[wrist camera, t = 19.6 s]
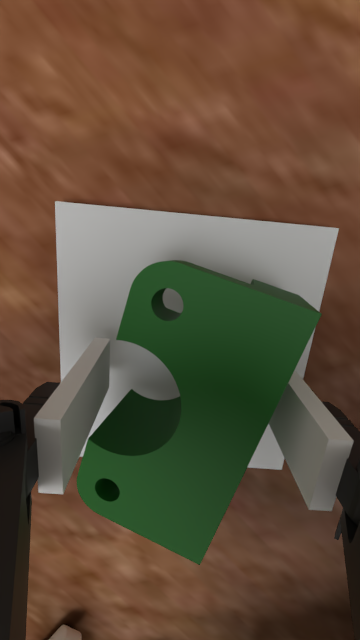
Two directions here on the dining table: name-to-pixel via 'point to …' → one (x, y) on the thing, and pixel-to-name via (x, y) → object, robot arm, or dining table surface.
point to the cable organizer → (66, 634)
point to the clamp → (193, 402)
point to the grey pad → (165, 245)
